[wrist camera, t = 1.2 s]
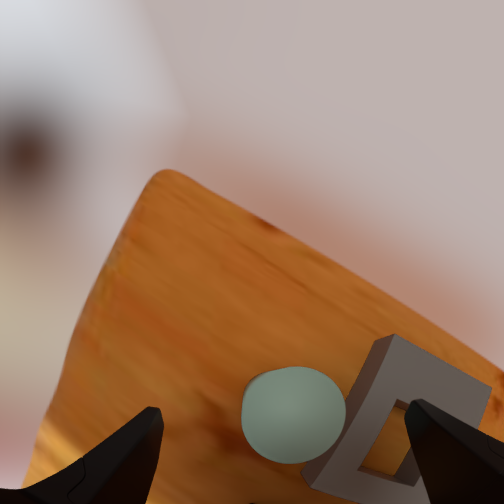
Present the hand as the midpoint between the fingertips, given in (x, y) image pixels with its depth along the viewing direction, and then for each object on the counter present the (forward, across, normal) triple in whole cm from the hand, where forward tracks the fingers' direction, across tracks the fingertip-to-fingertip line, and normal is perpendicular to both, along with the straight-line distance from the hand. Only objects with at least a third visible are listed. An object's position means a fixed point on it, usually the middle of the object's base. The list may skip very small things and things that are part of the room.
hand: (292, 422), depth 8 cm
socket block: (+9, -13, +14) cm, 21 cm away
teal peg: (+12, 0, +10) cm, 15 cm away
